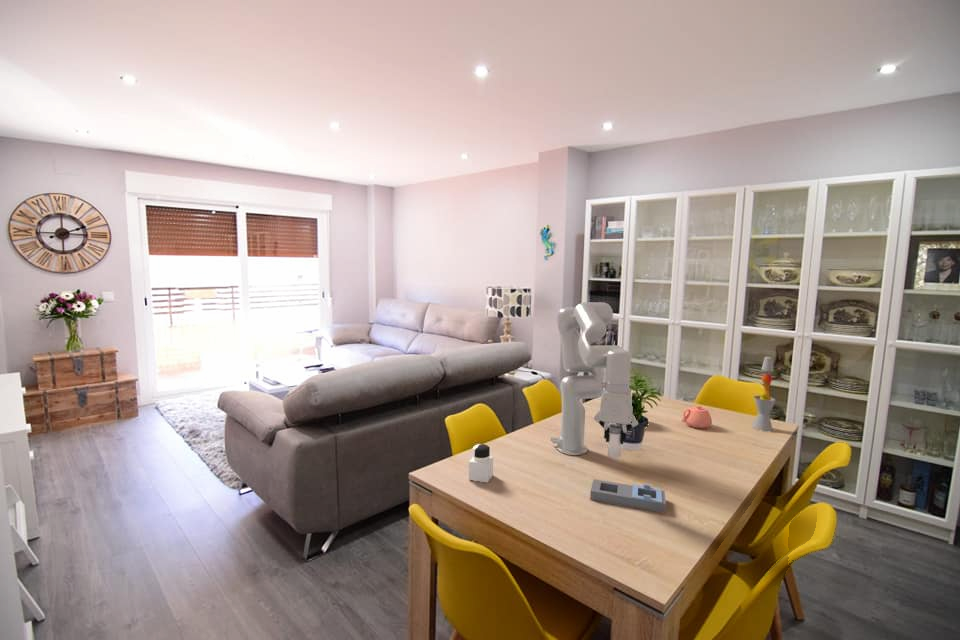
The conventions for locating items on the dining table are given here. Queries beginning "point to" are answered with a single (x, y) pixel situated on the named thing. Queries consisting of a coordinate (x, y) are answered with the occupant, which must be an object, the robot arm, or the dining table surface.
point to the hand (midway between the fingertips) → (614, 441)
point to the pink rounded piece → (697, 417)
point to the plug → (614, 440)
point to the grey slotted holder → (629, 495)
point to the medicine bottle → (481, 464)
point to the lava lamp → (764, 400)
